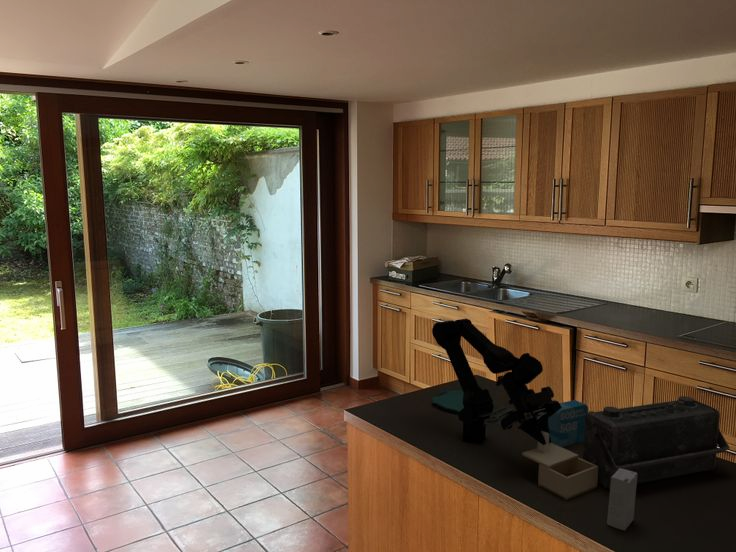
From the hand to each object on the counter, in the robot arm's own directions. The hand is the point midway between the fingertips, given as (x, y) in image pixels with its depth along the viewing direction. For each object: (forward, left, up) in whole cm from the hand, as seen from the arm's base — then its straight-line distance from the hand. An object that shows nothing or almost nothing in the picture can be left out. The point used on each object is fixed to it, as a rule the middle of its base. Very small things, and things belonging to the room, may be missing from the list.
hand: (547, 443), depth 164 cm
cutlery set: (-27, +43, -10) cm, 52 cm away
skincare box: (+18, -19, -9) cm, 27 cm away
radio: (+27, +10, -9) cm, 30 cm away
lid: (+1, -1, -3) cm, 3 cm away
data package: (+5, +24, -9) cm, 27 cm away
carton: (+6, -4, -9) cm, 12 cm away
